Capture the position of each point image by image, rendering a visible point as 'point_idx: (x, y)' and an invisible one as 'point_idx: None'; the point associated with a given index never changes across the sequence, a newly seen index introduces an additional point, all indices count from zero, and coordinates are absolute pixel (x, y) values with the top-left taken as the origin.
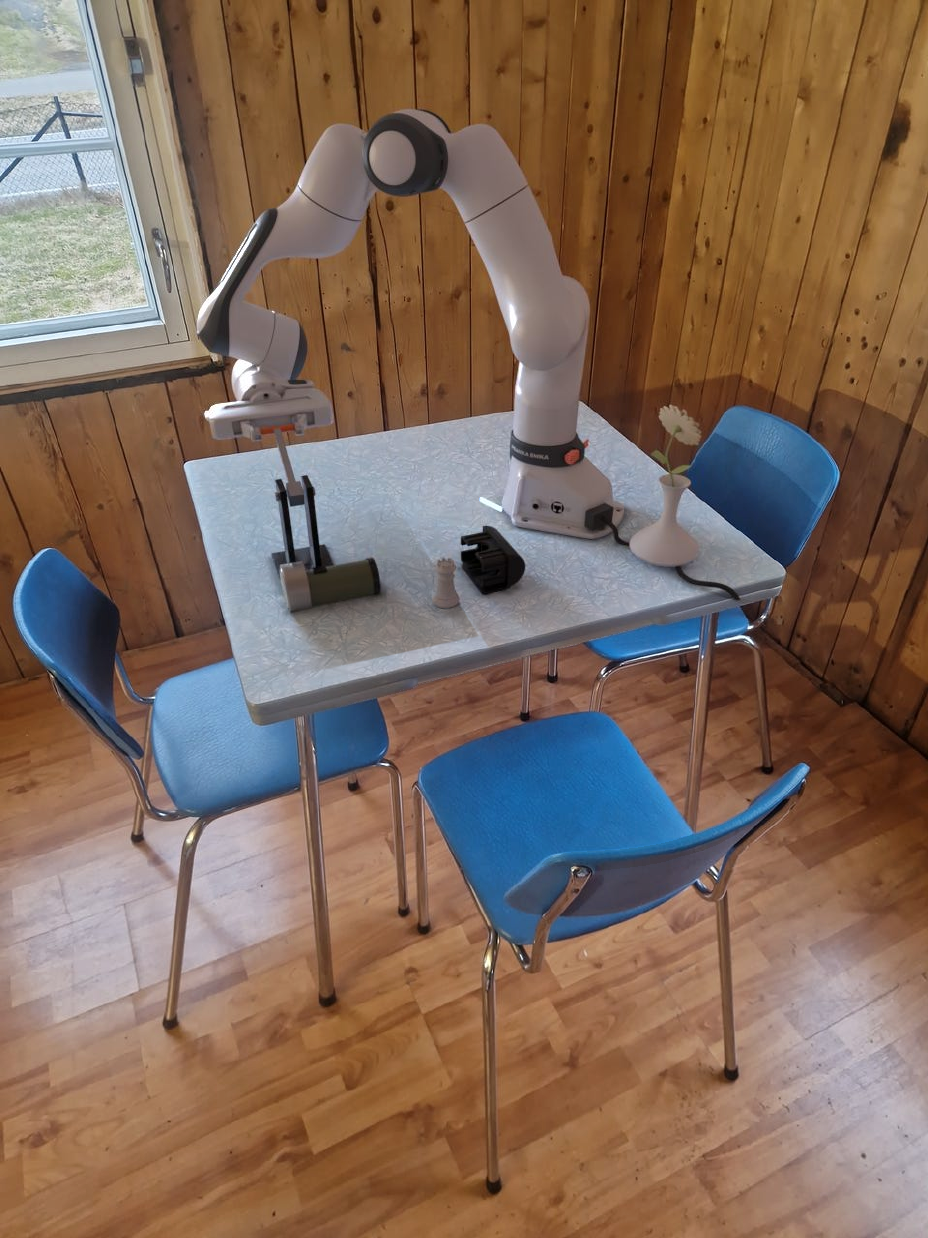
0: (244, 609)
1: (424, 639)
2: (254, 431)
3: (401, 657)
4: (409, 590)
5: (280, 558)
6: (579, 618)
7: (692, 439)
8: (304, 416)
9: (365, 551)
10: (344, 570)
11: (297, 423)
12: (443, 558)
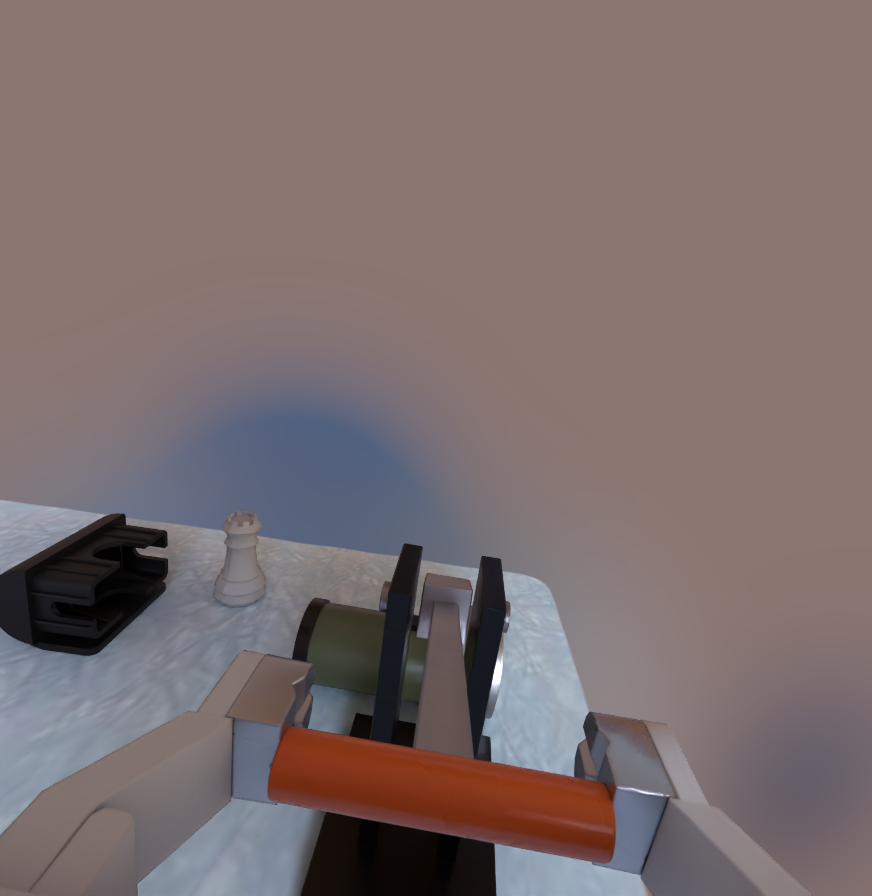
0: (574, 739)
1: (322, 567)
2: (638, 720)
3: (368, 560)
4: (250, 647)
5: (470, 892)
6: (129, 522)
7: None
8: (82, 783)
9: (188, 845)
10: (377, 612)
11: (267, 684)
12: (236, 520)
